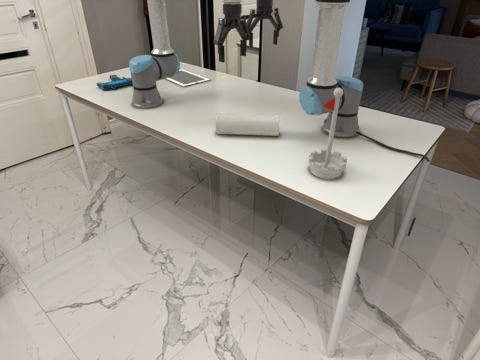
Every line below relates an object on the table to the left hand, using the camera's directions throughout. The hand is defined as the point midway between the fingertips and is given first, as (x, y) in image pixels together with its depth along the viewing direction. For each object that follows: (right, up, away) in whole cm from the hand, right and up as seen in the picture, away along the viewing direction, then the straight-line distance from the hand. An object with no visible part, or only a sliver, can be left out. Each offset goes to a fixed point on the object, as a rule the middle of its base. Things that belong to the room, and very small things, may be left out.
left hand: (232, 58), depth 145 cm
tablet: (-33, +14, +72) cm, 81 cm away
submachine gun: (-68, +9, +65) cm, 94 cm away
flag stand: (+34, -49, -24) cm, 64 cm away
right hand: (+14, +14, +22) cm, 30 cm away
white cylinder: (+6, -32, +2) cm, 33 cm away
